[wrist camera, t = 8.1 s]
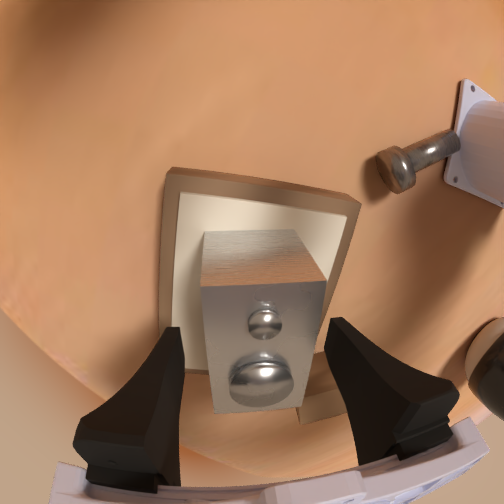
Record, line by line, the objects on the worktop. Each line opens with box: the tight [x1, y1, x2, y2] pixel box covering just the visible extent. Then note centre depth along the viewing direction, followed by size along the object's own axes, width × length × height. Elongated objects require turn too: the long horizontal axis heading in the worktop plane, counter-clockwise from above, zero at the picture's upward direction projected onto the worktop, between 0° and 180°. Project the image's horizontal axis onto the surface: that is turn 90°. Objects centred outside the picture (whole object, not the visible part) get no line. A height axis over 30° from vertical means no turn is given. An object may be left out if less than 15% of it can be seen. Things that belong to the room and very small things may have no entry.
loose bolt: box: [376, 129, 461, 194], centre depth 15 cm, size 6×3×3 cm, turn 116°
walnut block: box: [296, 351, 347, 425], centre depth 21 cm, size 4×4×4 cm
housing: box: [200, 229, 327, 414], centre depth 14 cm, size 4×8×6 cm, turn 179°
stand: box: [159, 167, 361, 375], centre depth 17 cm, size 10×13×2 cm
